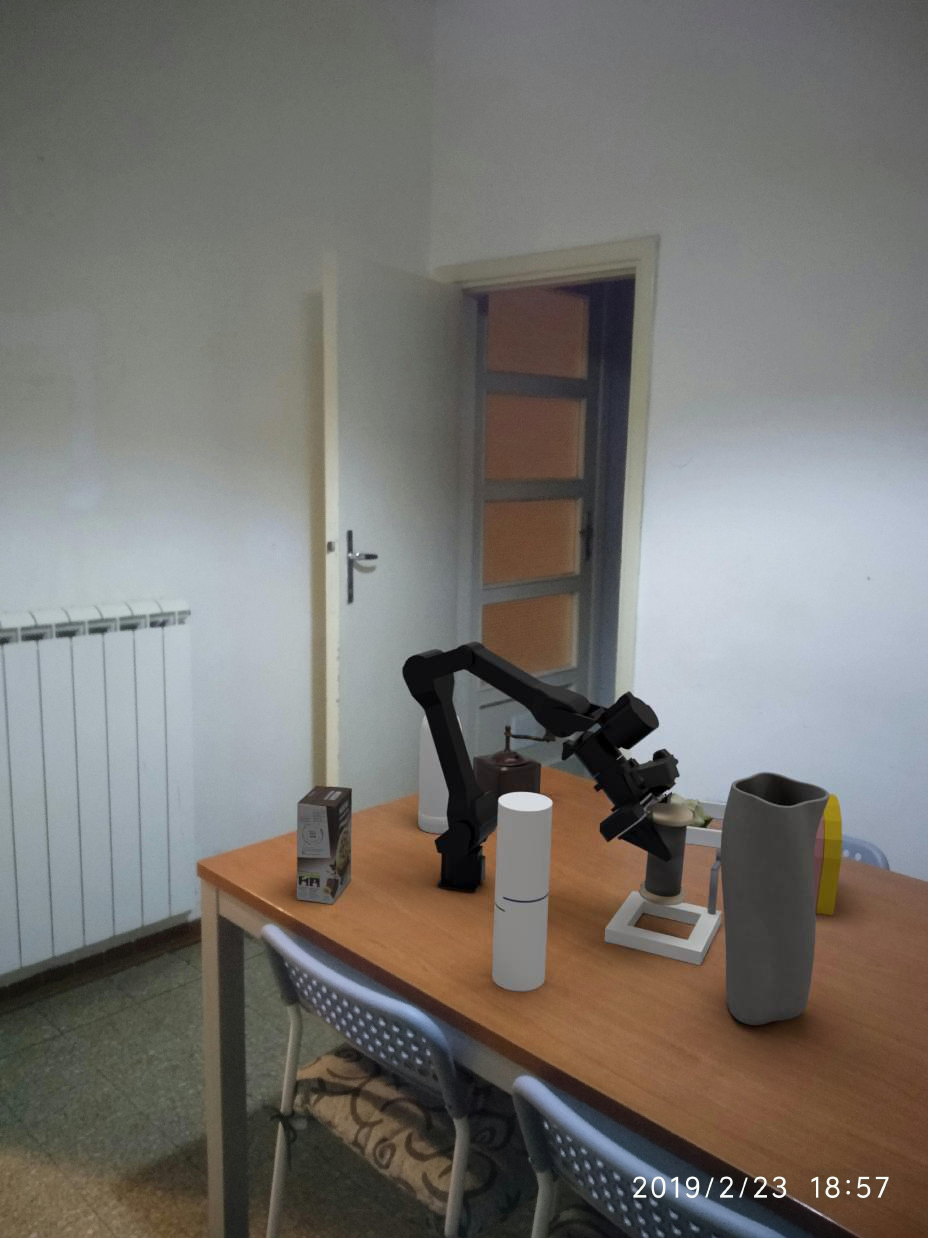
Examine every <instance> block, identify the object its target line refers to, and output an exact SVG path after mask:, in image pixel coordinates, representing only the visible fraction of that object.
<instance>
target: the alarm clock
mask: <svg viewBox="0 0 928 1238" xmlns="http://www.w3.org/2000/svg"><path fill="white" fill-rule="evenodd" d="M829 795H830V797H829V800H828V802H827V805H826V807H825V810H824V812H823V815H822V818H821V821H820V824H819V827H818V831H817V835H816V840H815V847H814V863H813V867H814V893H815V914H819V915H826V914H827V915H828V916H834V911H835V907H836V906H835V905H836V898H837V892H838V886H839V877H840V871H841V862H842V850H843V822H842V821H843V820H842V813H841V805H840V802H839V799H838V797H837V796H836V795H835V794H834V793H829Z"/></svg>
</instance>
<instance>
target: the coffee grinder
mask: <svg viewBox="0 0 928 1238" xmlns="http://www.w3.org/2000/svg"><path fill="white" fill-rule="evenodd" d="M504 730H505V731H504V733H503V735H504V737H505V739H504V740H505V743H504V745H505V746H504V749H501V750H498V751H497V752H494V753H489V754H484V755H478V756H473V759H472V761H473V762H472V769H473V772H474V776H475V779H476V782H477V784H478V786H479V787H480V788H481V789H482V790H483V791H484V792H485V793H487V792H490V791H492V792H493V794H494V799H495V804H496V807H497V809H498V799H499V798H500V797H501V796H502V795H505V794H508V793H514V792H530V793H536V794H541V779H542V778H541V776H542V774H541V773H542V763H541V762H539V761H537V760H534V759H533V758H531V757H528V756H526V755H524V754H521V753H520V752H517V751H516V750H512V749H511V746H510V743H511V738H512V739H518V740H531V741H536V742H539V743H540V742H541V743H542V742H545V743H547V744H549V743H552V742H557V737H556V736H553V735H552V734H551V733H549V732H548V731H547V730H546V729H545V728H544V734H543V735H542V737H538V736H533V735H529V734H516V733H515V734H514V733H512V732H511V730H512V727H511V725H508V724H507V725H505V727H504Z"/></svg>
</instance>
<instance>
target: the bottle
mask: <svg viewBox="0 0 928 1238" xmlns="http://www.w3.org/2000/svg"><path fill="white" fill-rule="evenodd" d="M457 718H458V722H459V725H460V728H461V732H462V730H463V727H462V723H461V720H460V717H459V716H458V715H457ZM419 732H420V733H419V772H418V773H419V774H418V775H419V776H418V809H417V810H418V811H417V819H418V820H417V821H418V824H417V825H418V828H419V829H421V830H422V831H423V832H426V833H429V834H435V835H436V834H437V835H440V834H441V835H442V834H443V833H444V832H445V831H447V830H448V822H447V814H446V812H447V805H448V797H449V793H448V789H447V785H446V782H445V779H444V775H443V772H442V768H441V765H440V762H439V758H438V755H437V752H436V748H435V745H434V741H433V738H432V735H431V731H430V728H429V725H428V721H427V718H426V714H425V715H424V716H423V719H422V722H421V724H420V729H419ZM462 733H463V732H462Z"/></svg>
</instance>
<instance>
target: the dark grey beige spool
mask: <svg viewBox="0 0 928 1238" xmlns="http://www.w3.org/2000/svg"><path fill="white" fill-rule="evenodd" d="M651 811H653V826H654V828H655V829H656V831H657V833H658V834H659V836H660V837H661V839H662V841H663V842H664V844H665V845H666V847H667V849H668V850H669V852H670V854H671V856H672V859H671V860H669V861H668V862H665V861H663V860H662V859H660V858H658V857H656V856H654V855H652V854H651V853H649V852H647V858H646V866H645V867H646V869H645V878H644V879H645V880H643V881H642V882H640V884H639V891H638V892H639V893H640V896H641V897H642V898H644V899H645V900H647V901H649V902H651V903H654V904H658V905H666V906H672V905H678V904H681V903H685V902H684V901H685V900H686V890H685V888H684V887H683V886H682V882H683V881H682V880H683V871H684V861H685V860H684V859H685V849H686V843H685V841H686V831H687V825H689V824H691V823H692V820H693V813H692V811H691V810H689V809H687V808H685V807H683V806H679V805H675V804H668V803H656V804H651V805H649V806H648V807H647V811H646V814H648V813H650V812H651Z"/></svg>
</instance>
